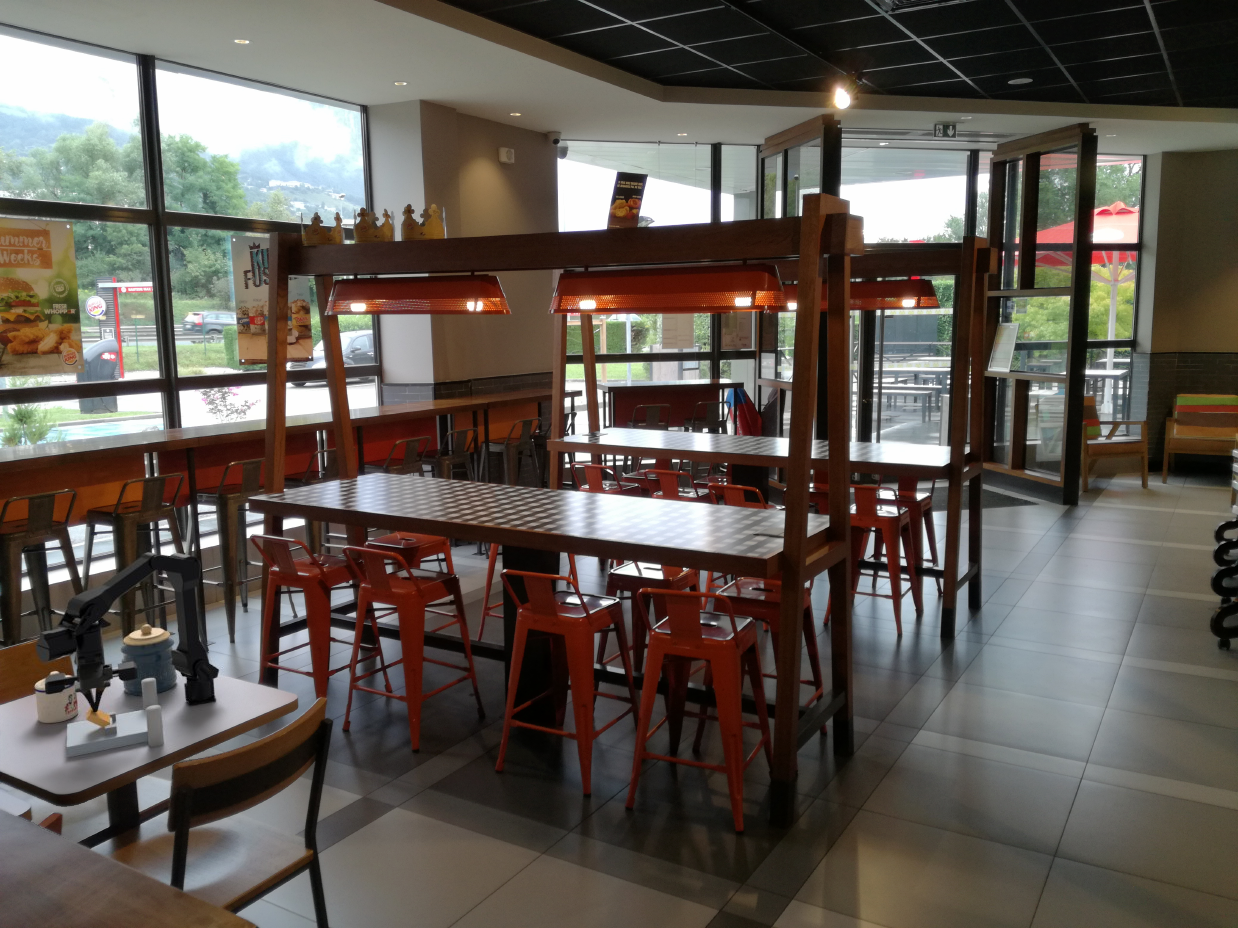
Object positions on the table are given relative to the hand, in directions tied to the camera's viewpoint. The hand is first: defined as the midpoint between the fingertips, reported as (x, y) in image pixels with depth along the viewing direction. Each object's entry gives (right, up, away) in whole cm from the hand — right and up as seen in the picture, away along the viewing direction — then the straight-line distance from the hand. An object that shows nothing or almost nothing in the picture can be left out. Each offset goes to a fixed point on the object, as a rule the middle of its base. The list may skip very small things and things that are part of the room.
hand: (95, 711), depth 216 cm
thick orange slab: (+2, -3, +2) cm, 5 cm away
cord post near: (+15, -7, -1) cm, 17 cm away
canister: (-3, -2, +32) cm, 33 cm away
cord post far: (+5, -5, +15) cm, 17 cm away
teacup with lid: (-18, -5, +15) cm, 24 cm away
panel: (+2, -7, +2) cm, 8 cm away
